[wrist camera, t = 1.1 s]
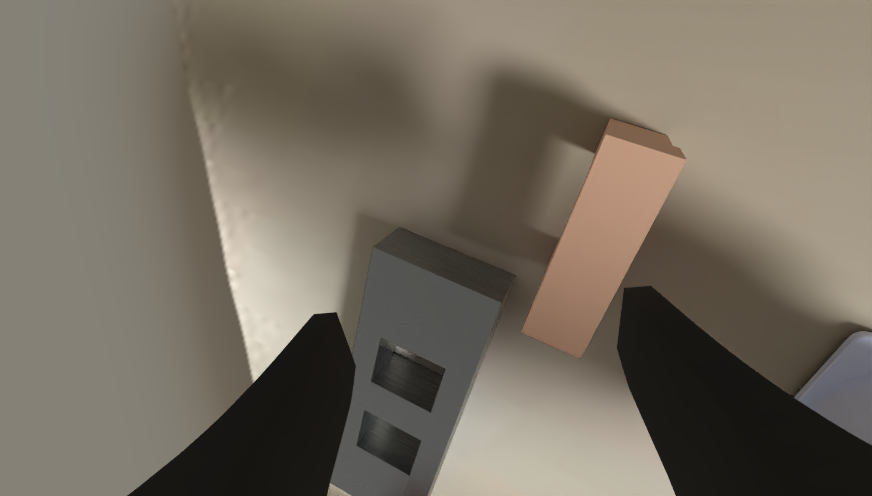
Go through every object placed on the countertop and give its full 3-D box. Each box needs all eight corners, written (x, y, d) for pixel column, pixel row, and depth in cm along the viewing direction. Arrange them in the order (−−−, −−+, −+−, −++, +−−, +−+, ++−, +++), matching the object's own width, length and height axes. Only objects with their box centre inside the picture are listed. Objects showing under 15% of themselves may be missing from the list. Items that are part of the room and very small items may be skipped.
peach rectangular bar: (669, 131, 18) (686, 159, 13) (592, 288, 22) (580, 358, 16) (612, 113, 18) (605, 134, 13) (545, 269, 22) (520, 332, 17)
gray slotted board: (515, 275, 23) (501, 302, 20) (430, 495, 32) (413, 532, 30) (399, 227, 25) (372, 247, 22) (350, 449, 34) (328, 481, 31)
